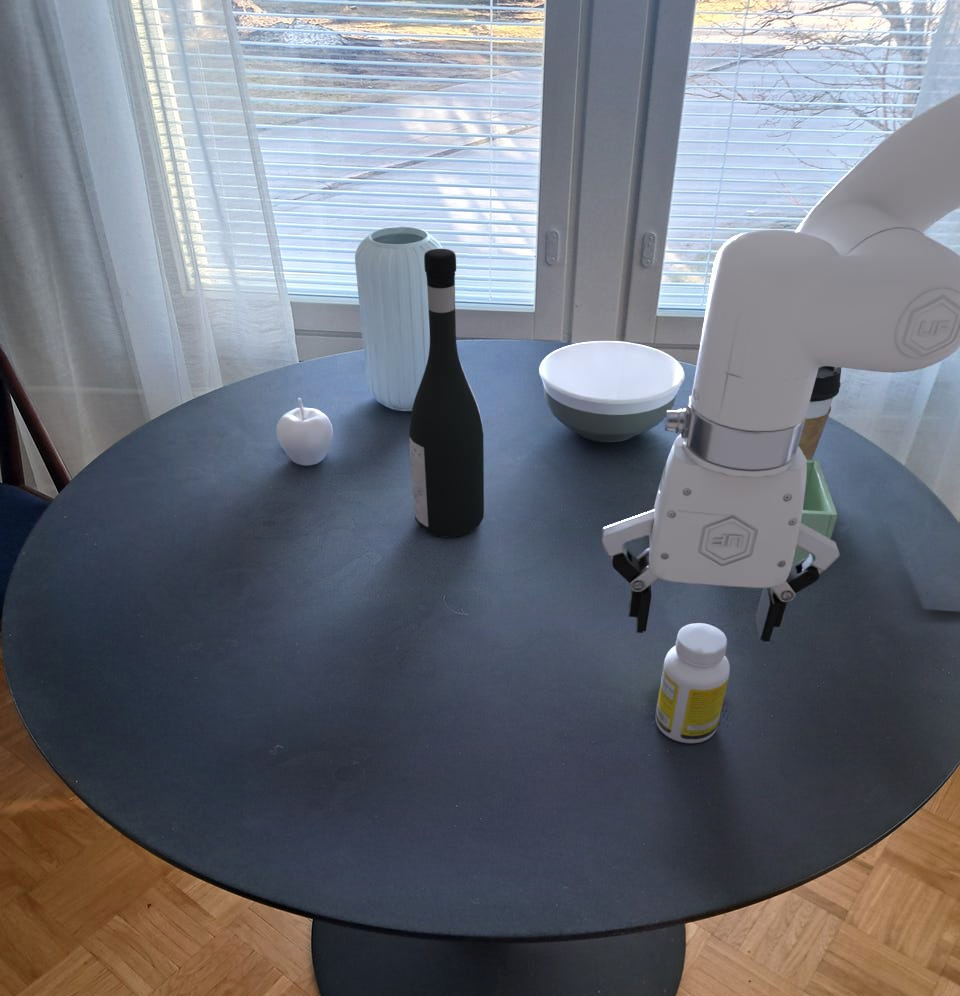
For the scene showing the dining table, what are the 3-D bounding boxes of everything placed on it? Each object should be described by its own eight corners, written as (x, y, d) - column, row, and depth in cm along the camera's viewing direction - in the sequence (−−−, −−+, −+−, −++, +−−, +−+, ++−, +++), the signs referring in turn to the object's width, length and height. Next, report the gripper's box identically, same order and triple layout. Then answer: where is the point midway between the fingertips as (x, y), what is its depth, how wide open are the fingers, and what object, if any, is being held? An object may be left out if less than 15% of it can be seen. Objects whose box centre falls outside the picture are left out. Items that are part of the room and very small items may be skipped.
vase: (353, 409, 126) (336, 243, 112) (391, 376, 134) (379, 217, 120) (428, 423, 123) (419, 254, 108) (461, 389, 131) (458, 227, 116)
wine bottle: (408, 538, 102) (388, 264, 82) (421, 501, 108) (406, 237, 88) (479, 543, 101) (476, 268, 81) (488, 506, 107) (488, 240, 87)
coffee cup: (788, 506, 106) (818, 386, 96) (729, 479, 111) (752, 362, 101) (827, 481, 110) (860, 363, 101) (768, 456, 115) (794, 341, 105)
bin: (802, 518, 104) (818, 459, 99) (820, 575, 96) (837, 514, 91) (704, 513, 105) (714, 455, 100) (712, 569, 97) (724, 509, 92)
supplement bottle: (726, 717, 80) (747, 632, 73) (701, 754, 76) (720, 669, 70) (670, 693, 82) (685, 609, 76) (643, 729, 79) (657, 644, 72)
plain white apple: (332, 442, 119) (324, 384, 114) (339, 468, 114) (332, 409, 109) (278, 449, 118) (268, 391, 112) (284, 475, 112) (273, 416, 107)
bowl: (520, 449, 117) (521, 389, 112) (556, 389, 130) (559, 333, 125) (664, 471, 112) (672, 410, 107) (686, 406, 126) (694, 349, 121)
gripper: (614, 451, 59) (591, 649, 70) (886, 466, 57) (819, 666, 69) (613, 400, 64) (592, 590, 76) (861, 413, 63) (803, 605, 74)
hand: (700, 626), depth 72 cm, fingers open, 9 cm apart
